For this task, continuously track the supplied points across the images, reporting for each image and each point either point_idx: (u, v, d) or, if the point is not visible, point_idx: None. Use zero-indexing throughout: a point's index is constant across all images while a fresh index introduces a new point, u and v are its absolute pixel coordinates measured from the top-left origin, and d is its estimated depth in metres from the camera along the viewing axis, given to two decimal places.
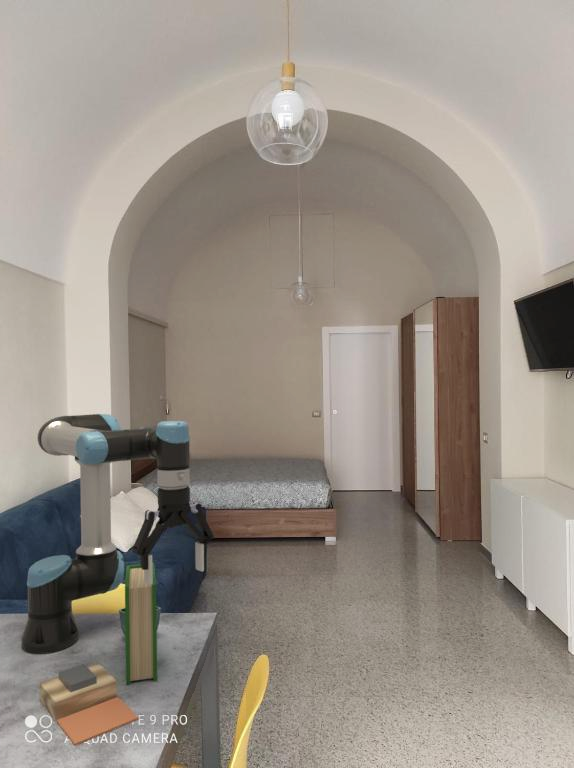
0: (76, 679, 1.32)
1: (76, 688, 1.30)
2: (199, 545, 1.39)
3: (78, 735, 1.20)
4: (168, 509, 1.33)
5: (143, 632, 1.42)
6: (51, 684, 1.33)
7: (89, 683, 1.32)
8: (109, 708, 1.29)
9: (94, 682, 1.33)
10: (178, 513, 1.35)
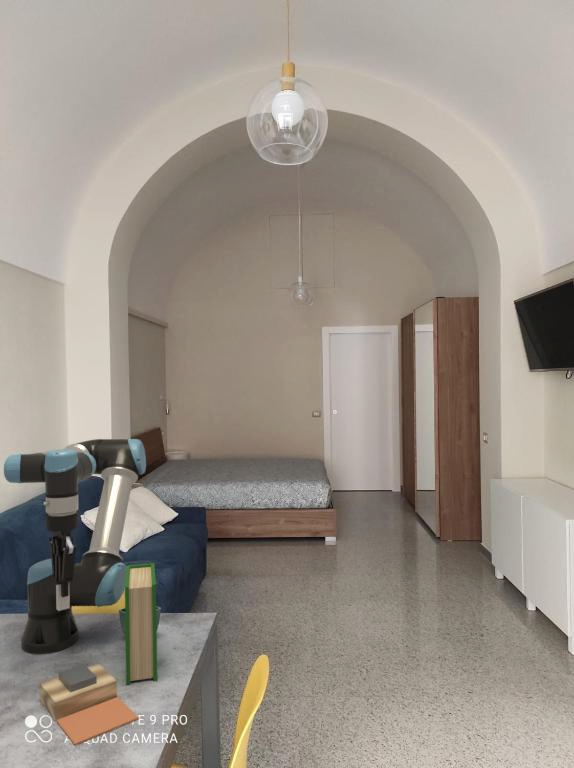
0: (76, 679, 1.32)
1: (76, 688, 1.30)
2: None
3: (78, 735, 1.20)
4: None
5: (143, 632, 1.42)
6: (51, 684, 1.33)
7: (89, 683, 1.32)
8: (109, 708, 1.29)
9: (94, 682, 1.33)
10: (58, 537, 1.40)
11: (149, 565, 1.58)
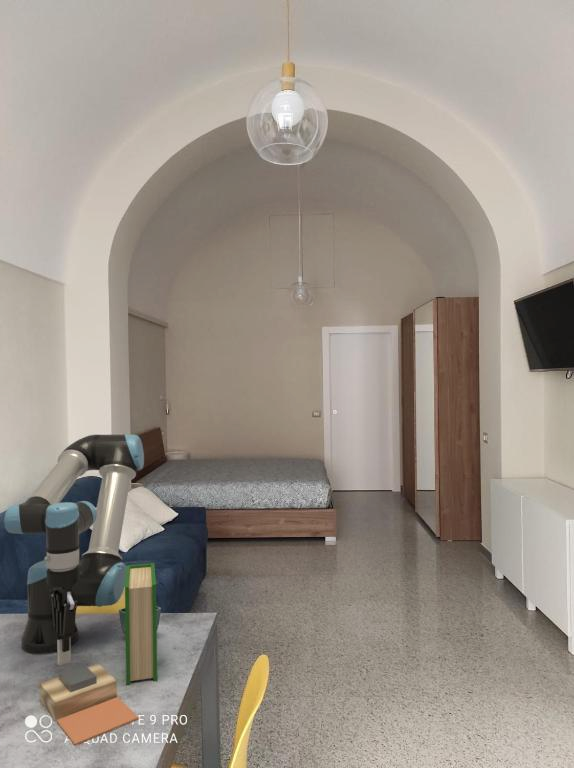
0: (76, 679, 1.32)
1: (76, 688, 1.30)
2: None
3: (78, 735, 1.20)
4: None
5: (143, 632, 1.42)
6: (51, 684, 1.33)
7: (89, 683, 1.32)
8: (109, 708, 1.29)
9: (94, 682, 1.33)
10: (59, 592, 1.40)
11: (149, 565, 1.58)
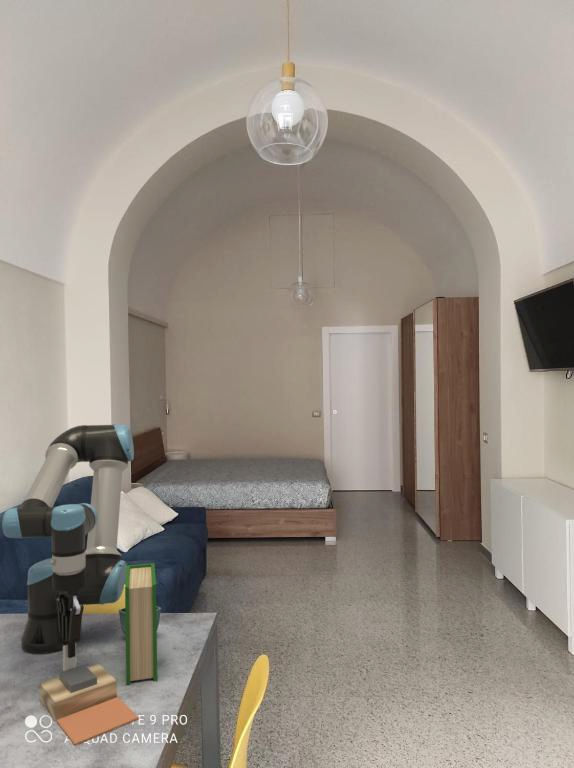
0: (77, 680, 1.32)
1: (76, 689, 1.30)
2: None
3: (78, 735, 1.20)
4: None
5: (143, 632, 1.42)
6: (51, 684, 1.33)
7: (89, 684, 1.32)
8: (109, 708, 1.29)
9: (94, 683, 1.33)
10: (65, 596, 1.37)
11: (149, 565, 1.58)
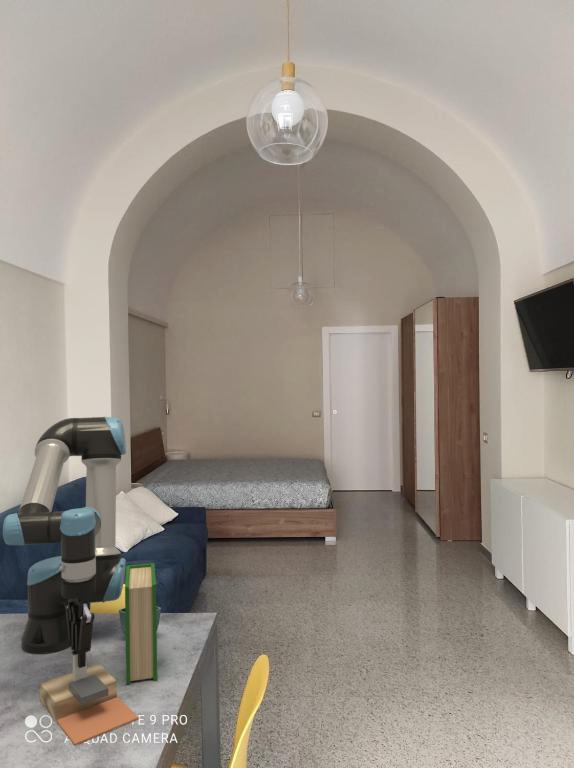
0: (87, 691, 1.27)
1: (87, 700, 1.25)
2: None
3: (78, 735, 1.20)
4: None
5: (143, 632, 1.42)
6: (51, 684, 1.33)
7: (101, 695, 1.27)
8: (109, 708, 1.29)
9: (106, 694, 1.28)
10: (75, 604, 1.32)
11: (149, 565, 1.58)
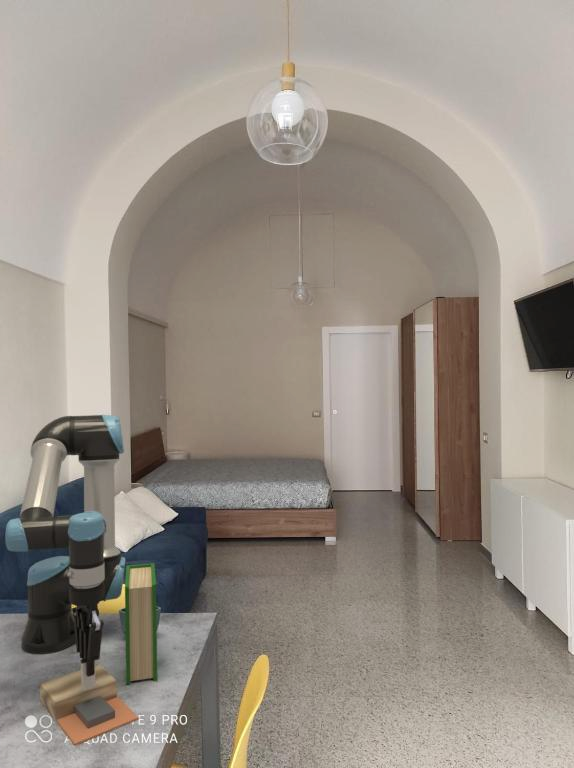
0: (94, 714, 1.24)
1: (94, 724, 1.23)
2: None
3: (78, 735, 1.20)
4: None
5: (143, 632, 1.42)
6: (51, 684, 1.33)
7: (107, 718, 1.25)
8: None
9: (112, 716, 1.25)
10: (83, 611, 1.28)
11: (149, 565, 1.58)
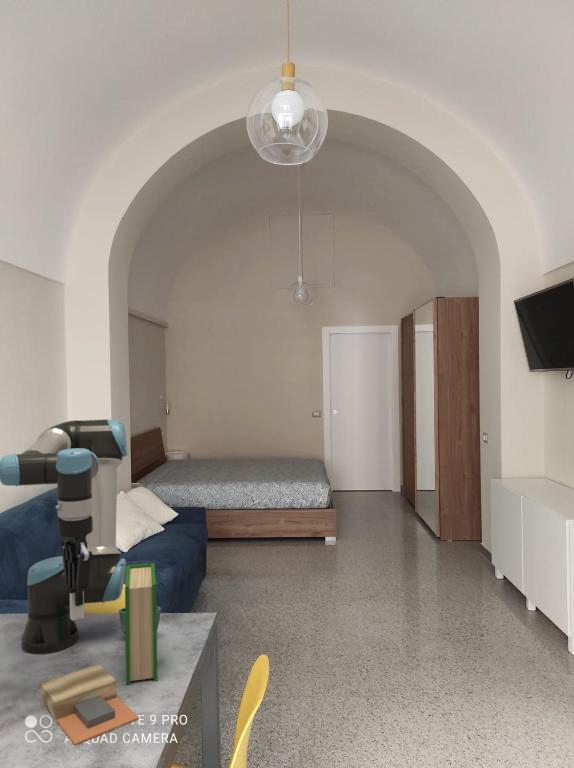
0: (94, 714, 1.24)
1: (94, 724, 1.23)
2: None
3: (78, 735, 1.20)
4: None
5: (143, 632, 1.42)
6: (51, 684, 1.33)
7: (107, 718, 1.25)
8: None
9: (112, 716, 1.25)
10: (71, 543, 1.31)
11: (149, 565, 1.58)
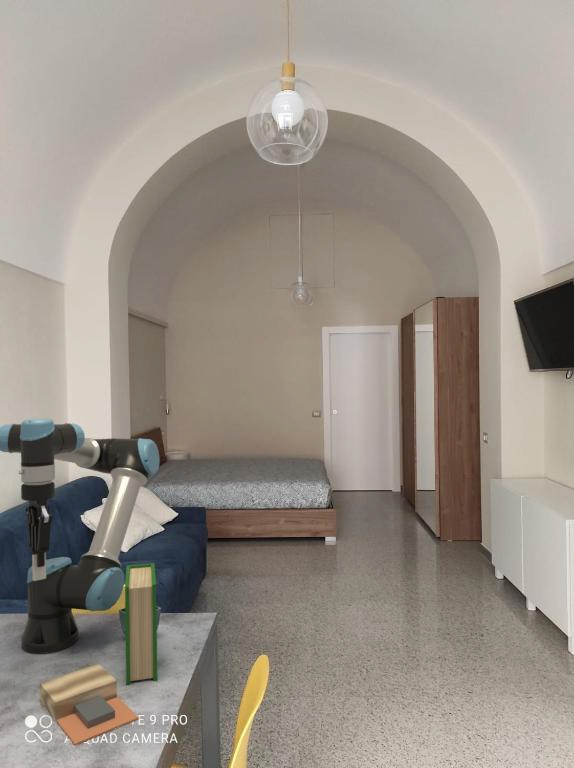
0: (94, 714, 1.24)
1: (94, 724, 1.23)
2: None
3: (78, 735, 1.20)
4: None
5: (143, 632, 1.42)
6: (51, 684, 1.33)
7: (107, 718, 1.25)
8: None
9: (112, 716, 1.25)
10: (34, 507, 1.39)
11: (149, 565, 1.58)
